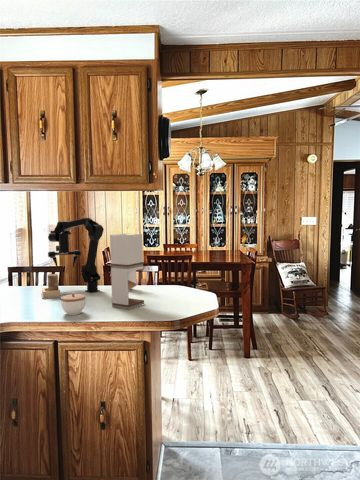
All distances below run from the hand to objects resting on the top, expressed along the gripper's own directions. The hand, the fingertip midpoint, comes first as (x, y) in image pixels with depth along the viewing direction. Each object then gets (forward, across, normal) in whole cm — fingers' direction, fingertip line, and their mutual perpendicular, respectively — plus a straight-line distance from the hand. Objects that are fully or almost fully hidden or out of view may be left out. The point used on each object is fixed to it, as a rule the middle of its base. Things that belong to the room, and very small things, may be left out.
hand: (65, 267), depth 223 cm
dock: (+13, +9, +16) cm, 23 cm away
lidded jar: (+13, +4, +61) cm, 62 cm away
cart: (+12, +9, +16) cm, 22 cm away
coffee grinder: (+13, -23, +59) cm, 64 cm away
